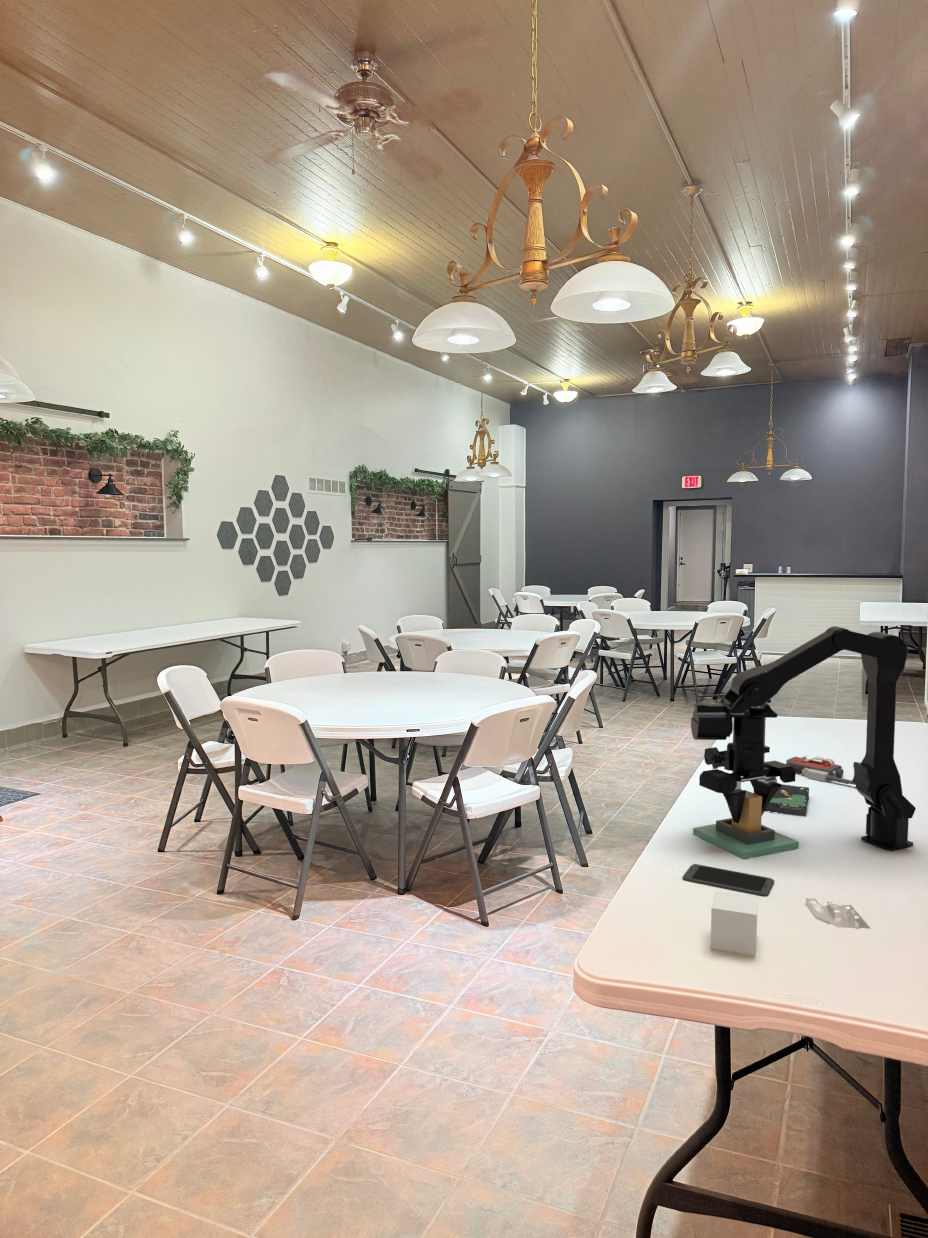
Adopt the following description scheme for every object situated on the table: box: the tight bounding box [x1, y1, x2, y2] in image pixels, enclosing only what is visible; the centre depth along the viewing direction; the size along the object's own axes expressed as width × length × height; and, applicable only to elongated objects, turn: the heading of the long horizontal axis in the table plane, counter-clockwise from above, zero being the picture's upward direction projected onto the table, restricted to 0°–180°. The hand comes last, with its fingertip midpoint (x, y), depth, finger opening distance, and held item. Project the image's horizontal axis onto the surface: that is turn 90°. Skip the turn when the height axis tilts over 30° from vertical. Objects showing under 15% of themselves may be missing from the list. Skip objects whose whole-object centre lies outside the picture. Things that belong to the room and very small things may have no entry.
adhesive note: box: [710, 890, 759, 957], centre depth 116 cm, size 6×6×6 cm
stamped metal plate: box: [805, 897, 871, 930], centre depth 124 cm, size 8×7×2 cm
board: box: [692, 817, 800, 860], centre depth 155 cm, size 14×13×3 cm
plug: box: [732, 789, 763, 833], centre depth 155 cm, size 5×3×8 cm, turn 23°
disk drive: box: [764, 783, 810, 817], centre depth 177 cm, size 10×3×15 cm
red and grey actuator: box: [785, 755, 856, 786], centre depth 197 cm, size 9×4×20 cm
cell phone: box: [682, 863, 775, 898], centre depth 137 cm, size 7×14×1 cm, turn 60°
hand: (746, 820), depth 154 cm, fingers open, 5 cm apart
